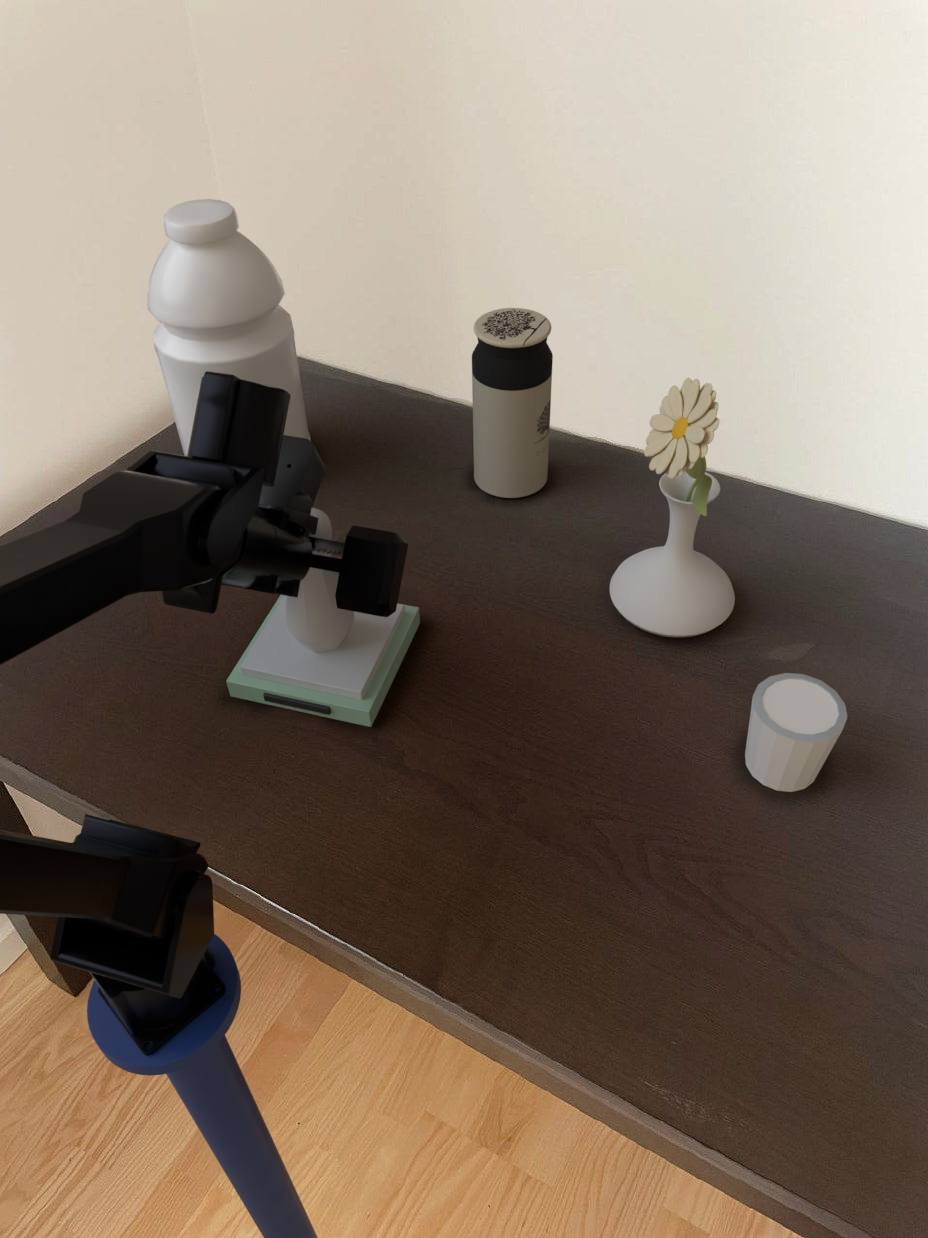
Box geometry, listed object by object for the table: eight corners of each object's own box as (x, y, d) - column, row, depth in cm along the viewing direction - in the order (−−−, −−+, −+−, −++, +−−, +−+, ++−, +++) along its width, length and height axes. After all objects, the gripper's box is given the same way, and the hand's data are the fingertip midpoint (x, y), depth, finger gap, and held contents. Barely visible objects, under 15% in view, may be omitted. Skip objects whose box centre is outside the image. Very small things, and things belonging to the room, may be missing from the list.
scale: (370, 730, 81) (366, 706, 79) (228, 699, 84) (221, 675, 81) (420, 622, 90) (418, 598, 88) (291, 597, 93) (286, 574, 91)
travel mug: (459, 484, 105) (454, 330, 93) (500, 449, 110) (500, 298, 97) (522, 509, 102) (525, 353, 89) (560, 472, 106) (569, 318, 94)
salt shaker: (368, 624, 85) (353, 506, 76) (335, 668, 82) (315, 549, 73) (312, 606, 87) (290, 488, 78) (277, 647, 84) (250, 529, 75)
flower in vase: (613, 559, 96) (639, 323, 78) (732, 572, 94) (785, 334, 76) (600, 652, 87) (626, 409, 69) (730, 670, 85) (791, 424, 67)
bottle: (268, 415, 116) (223, 172, 97) (338, 463, 109) (304, 209, 89) (164, 463, 109) (93, 211, 90) (231, 517, 102) (170, 256, 82)
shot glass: (828, 741, 79) (850, 683, 74) (822, 808, 74) (845, 751, 69) (742, 721, 80) (758, 663, 76) (731, 785, 76) (747, 728, 71)
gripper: (389, 447, 64) (445, 487, 79) (137, 409, 68) (237, 454, 83) (358, 614, 64) (420, 621, 79) (108, 566, 68) (213, 582, 83)
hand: (321, 565), depth 81 cm, fingers open, 9 cm apart
